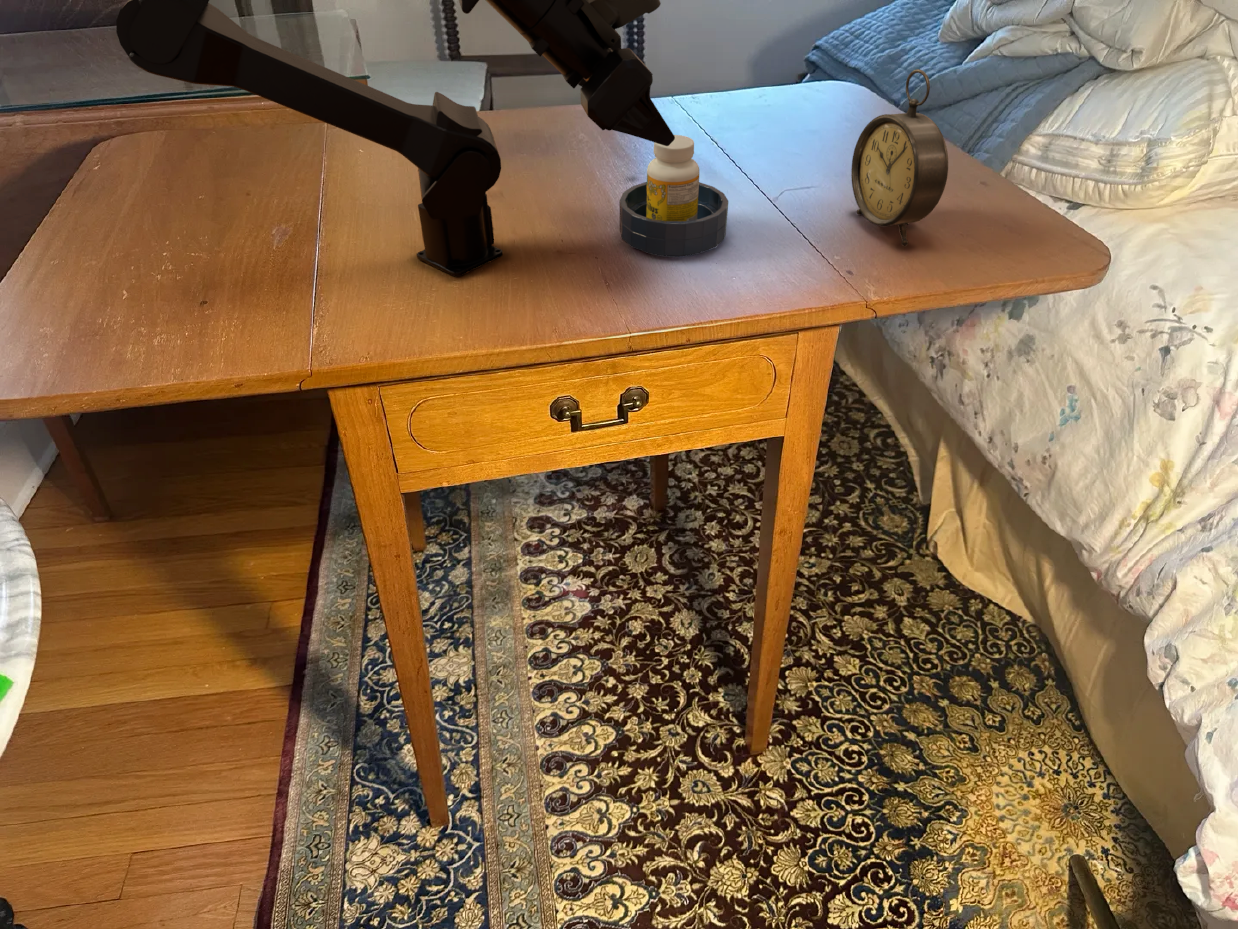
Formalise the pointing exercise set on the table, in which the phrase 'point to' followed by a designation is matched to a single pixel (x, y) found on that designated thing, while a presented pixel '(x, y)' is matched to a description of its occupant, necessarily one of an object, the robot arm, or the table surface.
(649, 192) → the supplement bottle
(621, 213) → the dark gray round dish
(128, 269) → the table surface
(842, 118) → the table surface
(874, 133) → the alarm clock
